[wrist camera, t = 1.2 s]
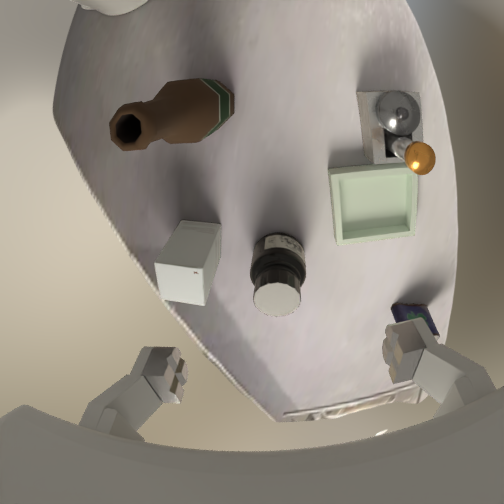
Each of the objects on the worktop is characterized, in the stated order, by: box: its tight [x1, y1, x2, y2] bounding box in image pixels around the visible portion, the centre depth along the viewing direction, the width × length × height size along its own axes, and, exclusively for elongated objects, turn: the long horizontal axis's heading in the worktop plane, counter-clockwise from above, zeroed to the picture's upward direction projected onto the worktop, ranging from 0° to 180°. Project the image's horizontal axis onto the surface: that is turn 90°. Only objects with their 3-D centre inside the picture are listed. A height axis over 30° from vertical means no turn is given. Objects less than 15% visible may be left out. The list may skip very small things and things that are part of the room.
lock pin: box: [384, 129, 435, 175], centre depth 30 cm, size 4×4×12 cm
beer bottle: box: [109, 78, 234, 151], centre depth 25 cm, size 8×8×24 cm
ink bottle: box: [250, 233, 306, 317], centre depth 44 cm, size 10×9×12 cm
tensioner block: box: [356, 90, 423, 164], centre depth 31 cm, size 10×8×7 cm
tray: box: [328, 162, 418, 246], centre depth 40 cm, size 12×14×3 cm
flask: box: [391, 303, 440, 340], centre depth 48 cm, size 10×3×12 cm, turn 86°
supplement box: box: [154, 220, 221, 306], centre depth 43 cm, size 7×7×13 cm
